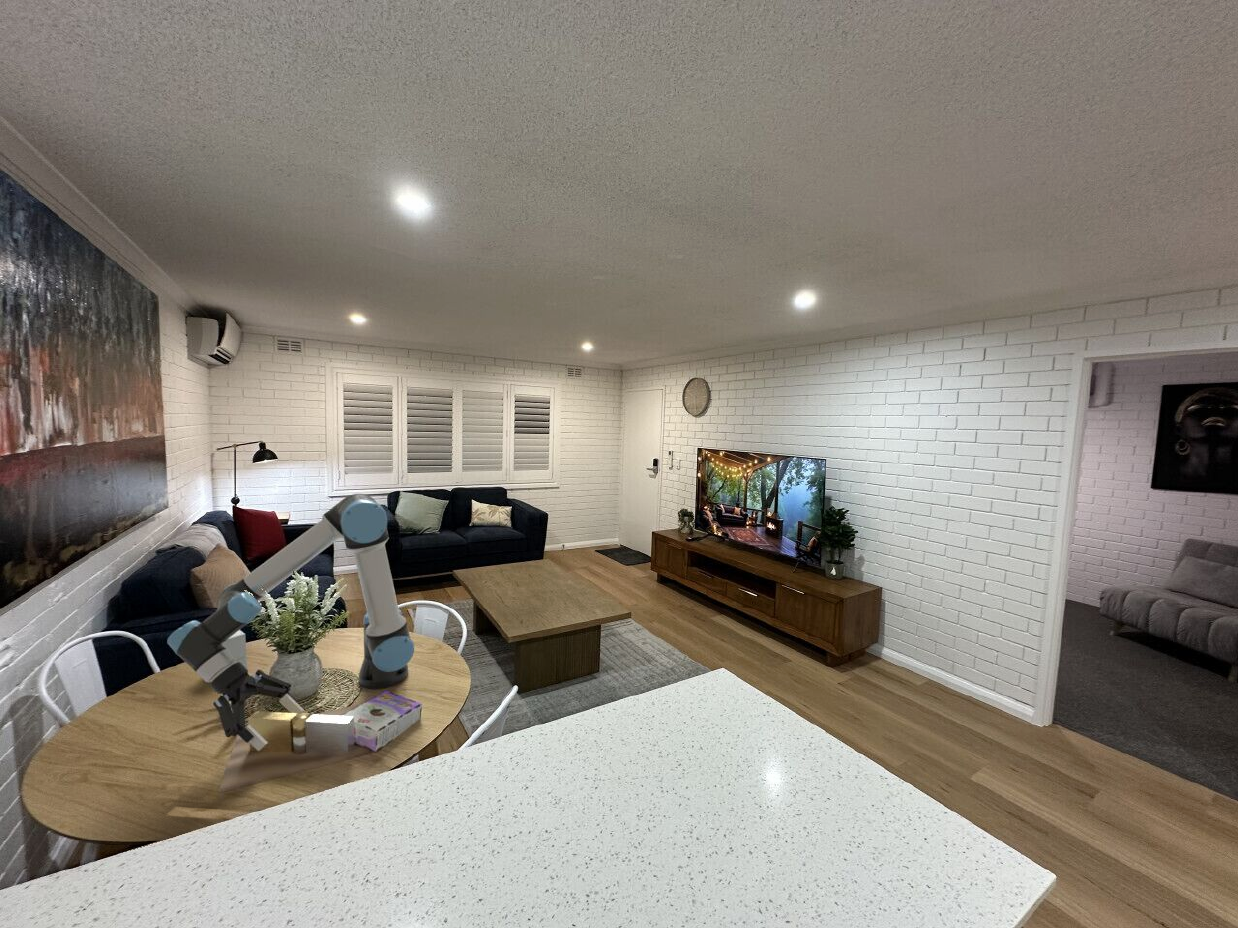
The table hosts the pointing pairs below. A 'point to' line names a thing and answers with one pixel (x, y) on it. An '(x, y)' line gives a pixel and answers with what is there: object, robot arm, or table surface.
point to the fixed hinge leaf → (326, 736)
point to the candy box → (383, 719)
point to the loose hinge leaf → (278, 729)
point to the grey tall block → (237, 647)
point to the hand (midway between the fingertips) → (282, 729)
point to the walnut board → (276, 761)
